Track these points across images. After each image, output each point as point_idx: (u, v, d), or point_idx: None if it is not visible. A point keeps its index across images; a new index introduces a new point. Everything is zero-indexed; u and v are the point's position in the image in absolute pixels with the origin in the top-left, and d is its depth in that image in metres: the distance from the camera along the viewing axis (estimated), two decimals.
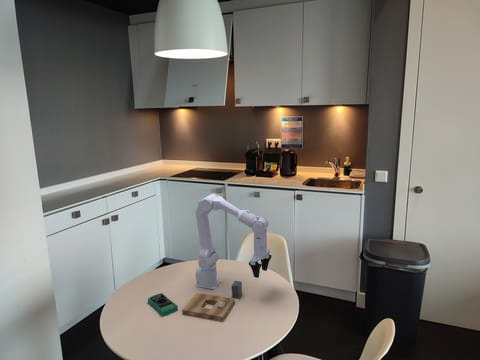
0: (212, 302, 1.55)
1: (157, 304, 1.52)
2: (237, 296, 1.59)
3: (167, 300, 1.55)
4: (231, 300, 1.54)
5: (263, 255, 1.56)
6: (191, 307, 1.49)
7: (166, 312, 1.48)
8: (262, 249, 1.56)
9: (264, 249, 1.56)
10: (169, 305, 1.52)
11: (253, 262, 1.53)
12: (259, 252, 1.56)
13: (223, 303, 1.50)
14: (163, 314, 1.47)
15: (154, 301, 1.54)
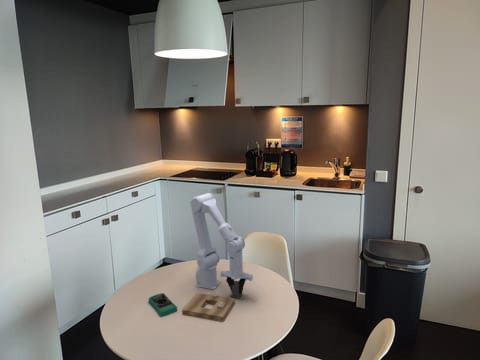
0: (212, 302, 1.55)
1: (157, 304, 1.52)
2: (237, 296, 1.59)
3: (167, 300, 1.55)
4: (231, 300, 1.54)
5: (231, 274, 1.57)
6: (191, 307, 1.49)
7: (165, 313, 1.47)
8: (230, 268, 1.57)
9: (232, 269, 1.56)
10: (169, 305, 1.51)
11: (220, 273, 1.61)
12: None
13: (223, 303, 1.50)
14: (161, 315, 1.47)
15: (154, 301, 1.55)
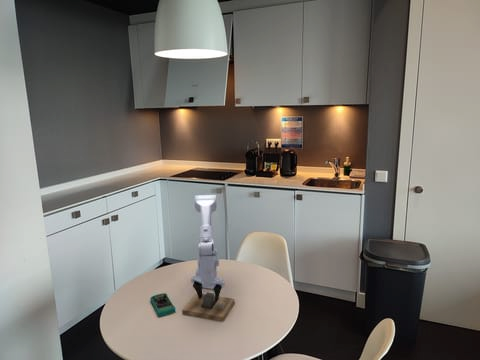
0: None
1: (156, 304, 1.52)
2: None
3: (167, 301, 1.54)
4: (231, 300, 1.54)
5: (201, 279, 1.47)
6: (191, 307, 1.49)
7: (163, 313, 1.47)
8: (201, 273, 1.47)
9: (202, 274, 1.46)
10: (167, 306, 1.51)
11: None
12: None
13: (223, 303, 1.50)
14: (159, 315, 1.46)
15: (155, 300, 1.55)
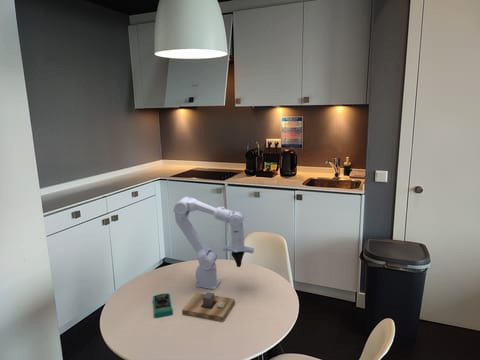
0: None
1: (156, 304, 1.52)
2: None
3: (167, 302, 1.54)
4: (231, 300, 1.54)
5: (233, 247, 1.63)
6: (191, 307, 1.49)
7: (159, 314, 1.46)
8: (232, 241, 1.63)
9: (233, 242, 1.62)
10: (166, 307, 1.50)
11: None
12: None
13: (223, 303, 1.50)
14: (155, 315, 1.46)
15: (156, 300, 1.55)
